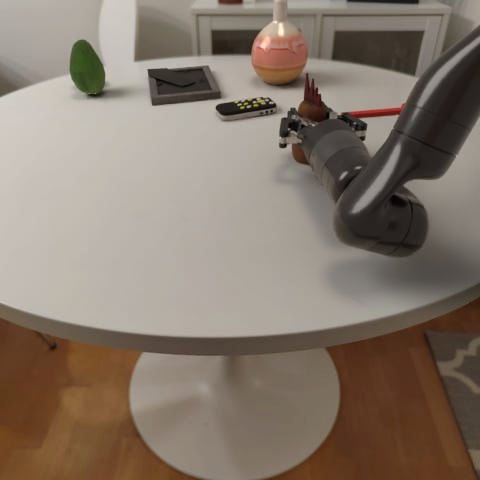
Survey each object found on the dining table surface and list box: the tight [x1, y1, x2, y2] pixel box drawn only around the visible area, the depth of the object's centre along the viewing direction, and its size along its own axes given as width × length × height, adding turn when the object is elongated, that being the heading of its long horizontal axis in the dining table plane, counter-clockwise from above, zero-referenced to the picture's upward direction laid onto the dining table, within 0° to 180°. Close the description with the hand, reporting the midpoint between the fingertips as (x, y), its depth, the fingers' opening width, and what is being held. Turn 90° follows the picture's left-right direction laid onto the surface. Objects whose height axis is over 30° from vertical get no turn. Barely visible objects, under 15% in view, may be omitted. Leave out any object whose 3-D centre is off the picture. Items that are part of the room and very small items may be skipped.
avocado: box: [68, 38, 106, 95], centre depth 107 cm, size 8×8×12 cm
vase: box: [250, 0, 309, 86], centre depth 108 cm, size 14×14×18 cm
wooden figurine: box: [291, 72, 327, 166], centre depth 75 cm, size 7×6×15 cm
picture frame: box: [146, 65, 222, 106], centre depth 112 cm, size 16×2×21 cm
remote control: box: [215, 95, 278, 122], centre depth 98 cm, size 6×13×2 cm, turn 109°
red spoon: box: [340, 102, 406, 119], centre depth 96 cm, size 19×6×1 cm, turn 98°
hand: (307, 112), depth 76 cm, fingers closed on wooden figurine, 4 cm apart
